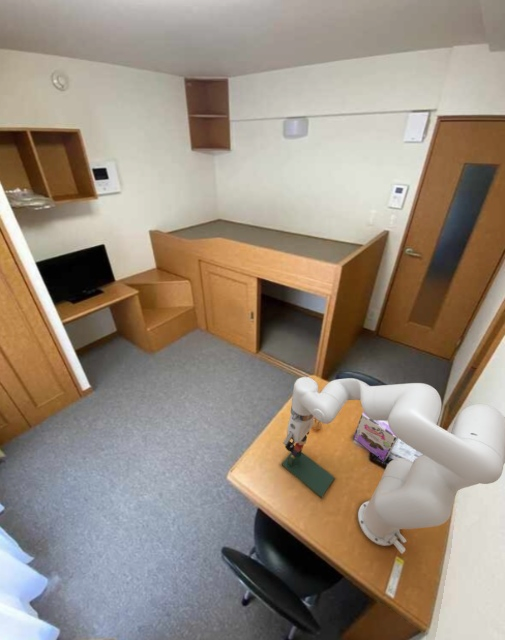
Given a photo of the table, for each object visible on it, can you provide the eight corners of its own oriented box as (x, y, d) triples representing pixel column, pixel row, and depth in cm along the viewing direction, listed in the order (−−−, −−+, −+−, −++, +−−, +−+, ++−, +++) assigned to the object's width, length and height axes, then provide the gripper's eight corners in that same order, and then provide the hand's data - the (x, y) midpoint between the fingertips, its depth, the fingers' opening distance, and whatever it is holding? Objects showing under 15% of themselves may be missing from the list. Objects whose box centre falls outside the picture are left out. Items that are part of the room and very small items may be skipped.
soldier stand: (334, 479, 103) (336, 471, 100) (321, 498, 98) (323, 490, 95) (295, 448, 113) (296, 440, 110) (281, 465, 108) (282, 456, 105)
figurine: (326, 428, 121) (331, 410, 115) (322, 439, 117) (326, 421, 110) (308, 419, 125) (312, 401, 118) (303, 430, 120) (307, 412, 114)
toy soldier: (310, 435, 98) (303, 429, 100) (304, 443, 96) (296, 437, 97) (300, 454, 107) (294, 448, 109) (294, 462, 105) (288, 456, 106)
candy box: (352, 438, 117) (361, 413, 108) (359, 430, 121) (369, 405, 111) (383, 462, 109) (396, 437, 100) (390, 453, 112) (403, 428, 103)
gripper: (296, 434, 85) (291, 464, 94) (325, 400, 95) (318, 431, 105) (277, 419, 89) (274, 450, 98) (307, 389, 99) (302, 419, 109)
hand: (297, 440), depth 102 cm, fingers open, 9 cm apart
